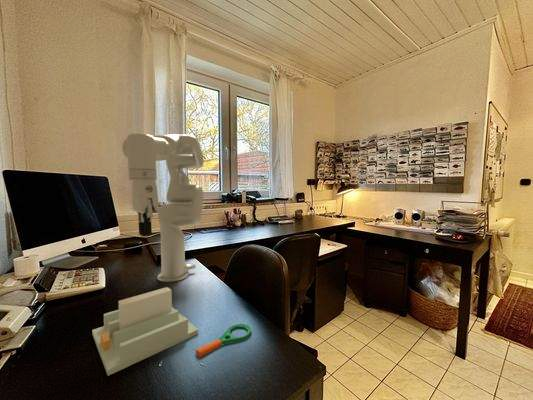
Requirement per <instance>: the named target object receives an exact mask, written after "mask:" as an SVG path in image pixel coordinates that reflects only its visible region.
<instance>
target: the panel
mask: <svg viewBox="0 0 533 400" xmlns="http://www.w3.org/2000/svg"><path fill="white" fill-rule="evenodd" d="M172 293H173V292H172V289H171V288H170V287H168V286H166V287H162V288H159V289H156V290H152V291H148V292H146V293H142V294H139V295H134V296H131V297H127V298H123V299H121V300H118V310H119V330H122V329H124V328H127V327H130V326H133V325H136V324H138V323H141V322H144V321H147V320H149V319H152V318H155V317H158V316H160V315H163V314H166V313H169V312H172V307H173V298H172Z"/></svg>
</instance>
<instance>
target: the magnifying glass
mask: <svg viewBox="0 0 533 400" xmlns="http://www.w3.org/2000/svg"><path fill="white" fill-rule="evenodd" d="M240 329H241V330H245V331H246V332H247V333H246V334H245V335H243V336H234V335H232V334H231V332H232V331H234V330H240ZM251 335H252V328H251V327H250V326H249V325H248V324H245V323H244V324H243V323H239V324H234V325H231V326H229V328H227V329H226V331H225V332H224V333H223V334H222V335H221V336H220V337H219V338H218V339H215V340H213V341H211V342H209V343H207V344H205V345H204V346H201V347H199V348H197V349H196V350H195V355H196V356H197V357H198V358H201V357H203V356H205V355H207V354H209V353H211V352H213V351H215V350H216V348H217V349H218V347H219V346H221V345H222V344H224V345H227V344H226V343H229V344H232V343H231V342H234V343H237V341H238V342H243V341H245V340H247V339H249V337H250V336H251ZM225 338H226V339H225ZM222 346H223V345H222ZM222 346H221V347H222ZM219 348H220V347H219ZM214 349H215V350H214ZM212 350H213V351H212Z"/></svg>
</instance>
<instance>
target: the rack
mask: <svg viewBox="0 0 533 400" xmlns="http://www.w3.org/2000/svg"><path fill="white" fill-rule="evenodd" d="M91 332H92V333H91V335H92V337H93V340H94V342H95V345H96V348H97V351H98V353H99V357H100V359H101V361H102V364H103V367H104V369H105V373H106V375H107V376H108V377H109V376H110V375H113V374H115V373H117V372H119V371H122V370H124V369H126V368H128V367H130V366H132V365H134V364H136V363H138V362H141V361H143V360H145V359H148V358H149V357H152V356H154V355H156V354H158V353H160V352H162V351H165V350H166V349H168V348H171V347H173V346H176V345H177V344H179V343H181V342H184V341H186V340H188V339H190V338H193V337H194V336H196V335H198V334H199V329H198V328H197V327H196V326H195V325H194V324H193V323H192V322H190V321H189V319H188V318H187V317H184V316H183V315H182V314H181V313H179V310H178V309H176V308H174V307H173V306H172V312H169V313H166V314H163V315H160V316H158V317H155V318H152V319H149V320H147V321H144V322H141V323H138V324H136V325H133V326H130V327H127V328H124V329H122V330H119V309H116V310H113V311H109V312H106V313H103V326H101V327H97V328H94V329H92V331H91Z"/></svg>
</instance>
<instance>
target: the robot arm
mask: <svg viewBox="0 0 533 400" xmlns="http://www.w3.org/2000/svg"><path fill="white" fill-rule="evenodd" d="M200 145H201V144H200V143H199V140H198V138H197V137H196V136H195V135H194V134H179V133H178V134H177V133H171V134H170V133H169V134H160V135H159V134H158V135H150V134H148V133H142V132H141V133H139V132H136V133H129V134H128V135H127V136H126V139H124V141H123V143H122V147H121V149H122V152H123V154H124V156H125V158H126V159H127V165H128V166H127V168H128V171H127V172H128V181H131V204H132V206H131V207H132V209H133V210H134V212H136V213H137V220H138V235H139V236H147V235H151V234H152V233H153V232H152V229H153V228H152V219H153V216H154V214H153V213H157V220H158V224H159V229H160V230H159V231H160V258H161V259H160V260H161V261H160V264H161V266H160V267H161V271H160V273H159V274H158V275H157V277H156V278H157V280H158V281H159V282H163V283H173V282H178V281H182V280H185V279H186V278H187V277H189V275H190V273H189V271H190V270H193V269H196V264H195V263H193V264H190V263H188V264H186V257H185V255H186V254H185V253H186V251H185V248H186V247H185V245H186V244H185V239H186V238H185V234H184V231H182V229H181V228H180V227H193V226H194V227H195V226H197V225H199V224H200V222H201V220H202V212H203V211H202V210H203V204H204V191H203V188H202V186H200V185H198V184H190V178H189V176H188V175H187V174H186V173H185V172H184V171H183V170H182V169H189V170H190V169H192V170H193V169H201V168H202V167H203V165H204V155H203V153H202V148H201V146H200ZM160 161H161V162H162V161H166V166H167V170H168V173H169V176H170V180H169V185H168V188H167V193H166V201H167V204H166V203H165V204H163V205H161V206H160V205H159V195H158V194H159V193H158V188H157V187H158V185H157V182H156V181H157V162H160Z"/></svg>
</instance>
